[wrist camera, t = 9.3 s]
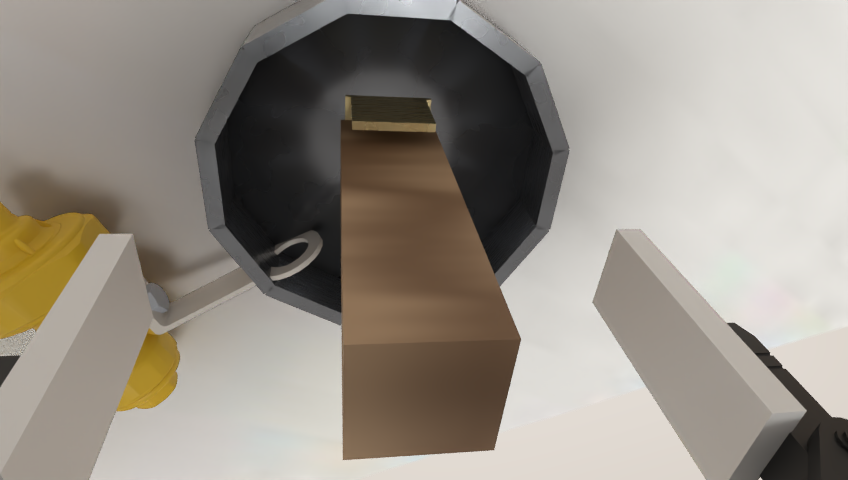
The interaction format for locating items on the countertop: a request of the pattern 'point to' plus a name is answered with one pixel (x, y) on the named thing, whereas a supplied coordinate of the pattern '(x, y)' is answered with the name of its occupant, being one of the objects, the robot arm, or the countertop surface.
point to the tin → (374, 110)
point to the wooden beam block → (416, 305)
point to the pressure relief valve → (158, 358)
